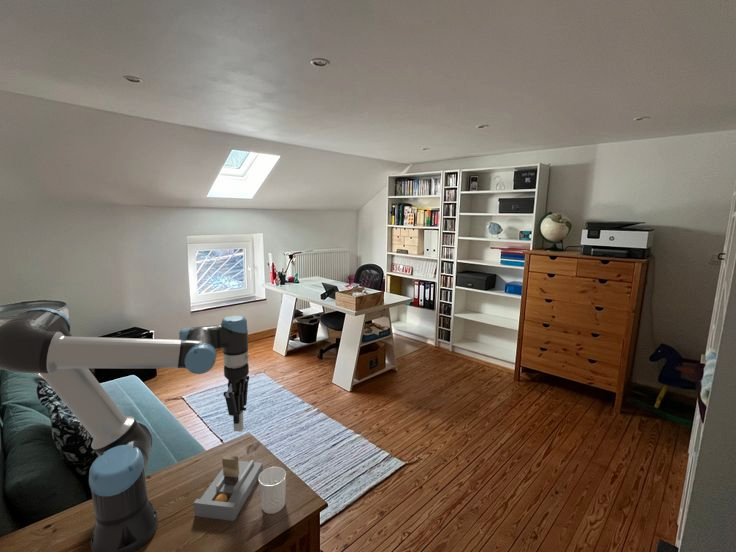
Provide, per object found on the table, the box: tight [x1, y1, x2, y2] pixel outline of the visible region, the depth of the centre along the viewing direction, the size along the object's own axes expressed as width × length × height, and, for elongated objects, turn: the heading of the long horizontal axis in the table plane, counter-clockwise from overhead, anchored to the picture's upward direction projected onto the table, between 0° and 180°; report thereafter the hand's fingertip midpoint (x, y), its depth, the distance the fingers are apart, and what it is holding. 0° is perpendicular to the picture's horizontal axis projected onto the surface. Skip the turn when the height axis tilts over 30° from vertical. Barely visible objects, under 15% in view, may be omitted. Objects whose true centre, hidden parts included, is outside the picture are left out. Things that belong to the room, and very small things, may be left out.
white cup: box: [257, 466, 287, 515], centre depth 108 cm, size 8×8×10 cm
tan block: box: [221, 455, 239, 485], centre depth 112 cm, size 2×4×8 cm, turn 83°
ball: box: [215, 494, 228, 502], centre depth 107 cm, size 4×4×4 cm
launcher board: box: [193, 459, 264, 522], centre depth 113 cm, size 20×12×4 cm, turn 173°
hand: (238, 429), depth 120 cm, fingers closed
